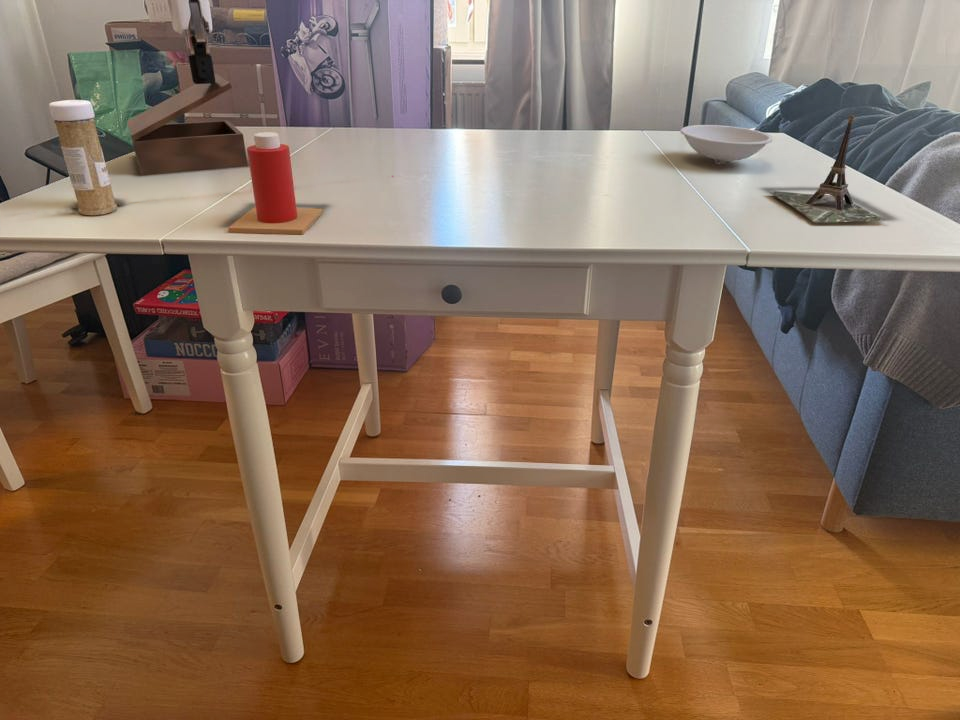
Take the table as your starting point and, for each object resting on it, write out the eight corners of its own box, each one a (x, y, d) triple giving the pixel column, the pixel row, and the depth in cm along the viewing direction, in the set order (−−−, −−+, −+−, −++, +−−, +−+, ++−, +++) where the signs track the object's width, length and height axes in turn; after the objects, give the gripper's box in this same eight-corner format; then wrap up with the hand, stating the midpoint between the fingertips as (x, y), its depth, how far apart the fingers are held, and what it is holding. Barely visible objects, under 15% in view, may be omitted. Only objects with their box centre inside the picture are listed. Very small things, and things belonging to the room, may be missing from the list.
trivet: (228, 232, 80) (227, 227, 80) (254, 211, 88) (254, 206, 88) (303, 234, 80) (302, 229, 79) (322, 213, 88) (322, 208, 87)
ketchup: (261, 225, 81) (249, 139, 76) (254, 215, 85) (241, 132, 80) (301, 220, 83) (291, 136, 78) (292, 210, 86) (282, 129, 82)
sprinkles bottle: (124, 210, 88) (98, 101, 81) (90, 218, 84) (59, 105, 78) (106, 204, 90) (79, 97, 84) (71, 212, 87) (40, 101, 80)
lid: (218, 78, 113) (215, 73, 113) (232, 87, 102) (229, 82, 101) (129, 125, 110) (126, 120, 110) (134, 140, 99) (130, 135, 98)
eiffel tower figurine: (764, 194, 98) (785, 97, 92) (832, 194, 99) (857, 98, 93) (813, 225, 85) (841, 114, 79) (891, 225, 86) (925, 115, 79)
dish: (662, 153, 124) (666, 125, 122) (735, 152, 126) (740, 124, 124) (702, 175, 109) (707, 143, 106) (785, 174, 111) (792, 142, 108)
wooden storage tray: (233, 154, 119) (228, 120, 116) (248, 171, 108) (243, 134, 105) (137, 162, 113) (128, 126, 110) (142, 181, 101) (133, 141, 99)
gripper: (148, -52, 102) (174, 79, 110) (156, -57, 90) (184, 89, 99) (201, -50, 105) (221, 77, 113) (215, -55, 93) (237, 87, 102)
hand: (204, 82), depth 106 cm, fingers closed
